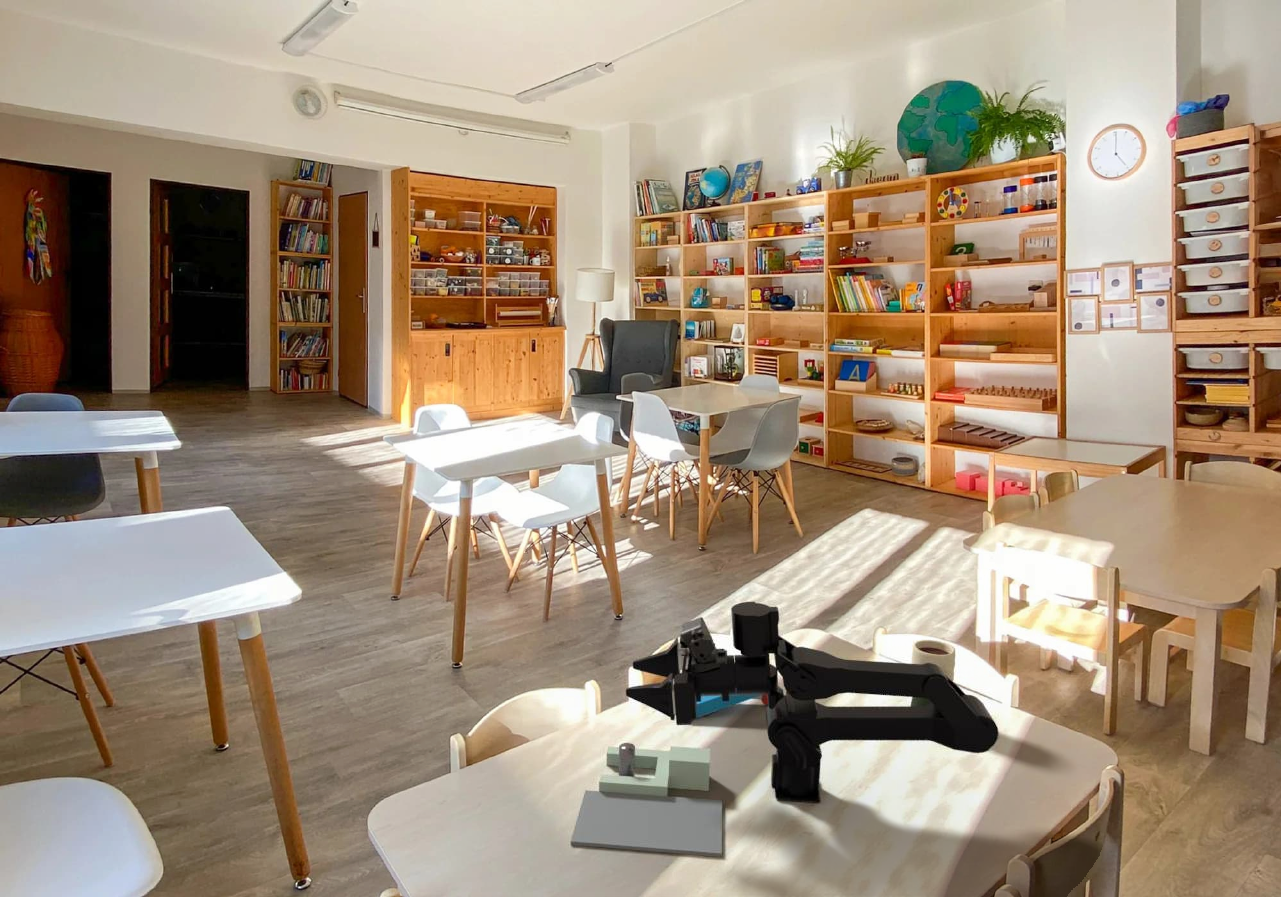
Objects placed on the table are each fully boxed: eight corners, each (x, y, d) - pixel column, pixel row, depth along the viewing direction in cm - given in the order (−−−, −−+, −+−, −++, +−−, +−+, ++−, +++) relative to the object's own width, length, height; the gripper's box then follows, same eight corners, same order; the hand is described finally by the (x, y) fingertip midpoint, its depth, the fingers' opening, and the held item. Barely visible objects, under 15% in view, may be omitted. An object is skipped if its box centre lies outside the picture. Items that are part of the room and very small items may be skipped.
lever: (691, 744, 149) (787, 711, 152) (682, 709, 148) (778, 676, 150) (682, 725, 156) (774, 693, 158) (673, 691, 154) (766, 659, 157)
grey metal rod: (635, 773, 131) (635, 743, 130) (633, 782, 129) (634, 751, 128) (619, 772, 131) (620, 742, 130) (617, 781, 129) (618, 750, 128)
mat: (722, 803, 124) (722, 800, 124) (721, 856, 112) (721, 853, 112) (585, 793, 126) (585, 790, 126) (570, 844, 114) (570, 841, 114)
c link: (709, 765, 134) (710, 739, 133) (708, 802, 124) (709, 774, 123) (608, 758, 135) (608, 732, 135) (598, 794, 126) (599, 766, 125)
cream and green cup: (965, 729, 147) (972, 658, 144) (929, 734, 145) (935, 662, 142) (927, 700, 157) (932, 633, 155) (893, 705, 155) (898, 637, 153)
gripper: (731, 600, 133) (632, 604, 135) (732, 648, 115) (617, 652, 117) (735, 667, 135) (637, 670, 137) (736, 726, 117) (623, 728, 119)
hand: (629, 678), depth 127 cm, fingers open, 9 cm apart
